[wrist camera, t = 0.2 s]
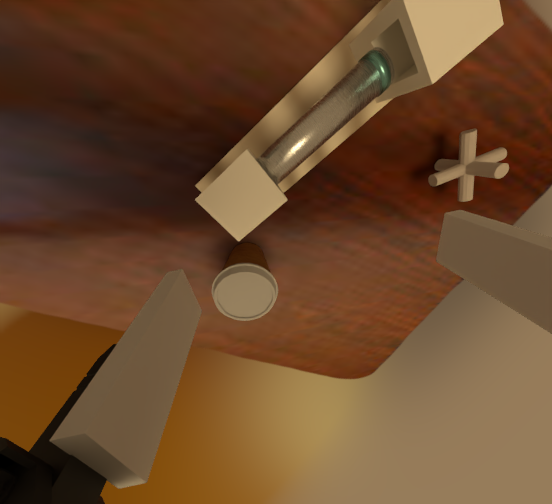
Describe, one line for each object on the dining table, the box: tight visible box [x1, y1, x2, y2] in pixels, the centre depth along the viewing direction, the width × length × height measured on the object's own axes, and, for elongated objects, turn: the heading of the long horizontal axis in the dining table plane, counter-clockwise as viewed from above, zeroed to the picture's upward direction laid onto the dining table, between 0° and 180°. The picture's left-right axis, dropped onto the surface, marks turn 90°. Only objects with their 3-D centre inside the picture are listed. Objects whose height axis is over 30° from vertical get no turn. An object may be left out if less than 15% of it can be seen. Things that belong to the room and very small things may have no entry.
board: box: [195, 0, 393, 193], centre depth 31 cm, size 37×10×1 cm, turn 130°
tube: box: [256, 47, 395, 186], centre depth 25 cm, size 24×4×4 cm, turn 130°
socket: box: [349, 0, 503, 103], centre depth 23 cm, size 7×8×11 cm
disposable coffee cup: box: [212, 243, 278, 321], centre depth 35 cm, size 10×10×12 cm
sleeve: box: [195, 148, 287, 242], centre depth 29 cm, size 8×7×11 cm
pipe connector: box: [428, 129, 509, 202], centre depth 31 cm, size 10×10×10 cm
